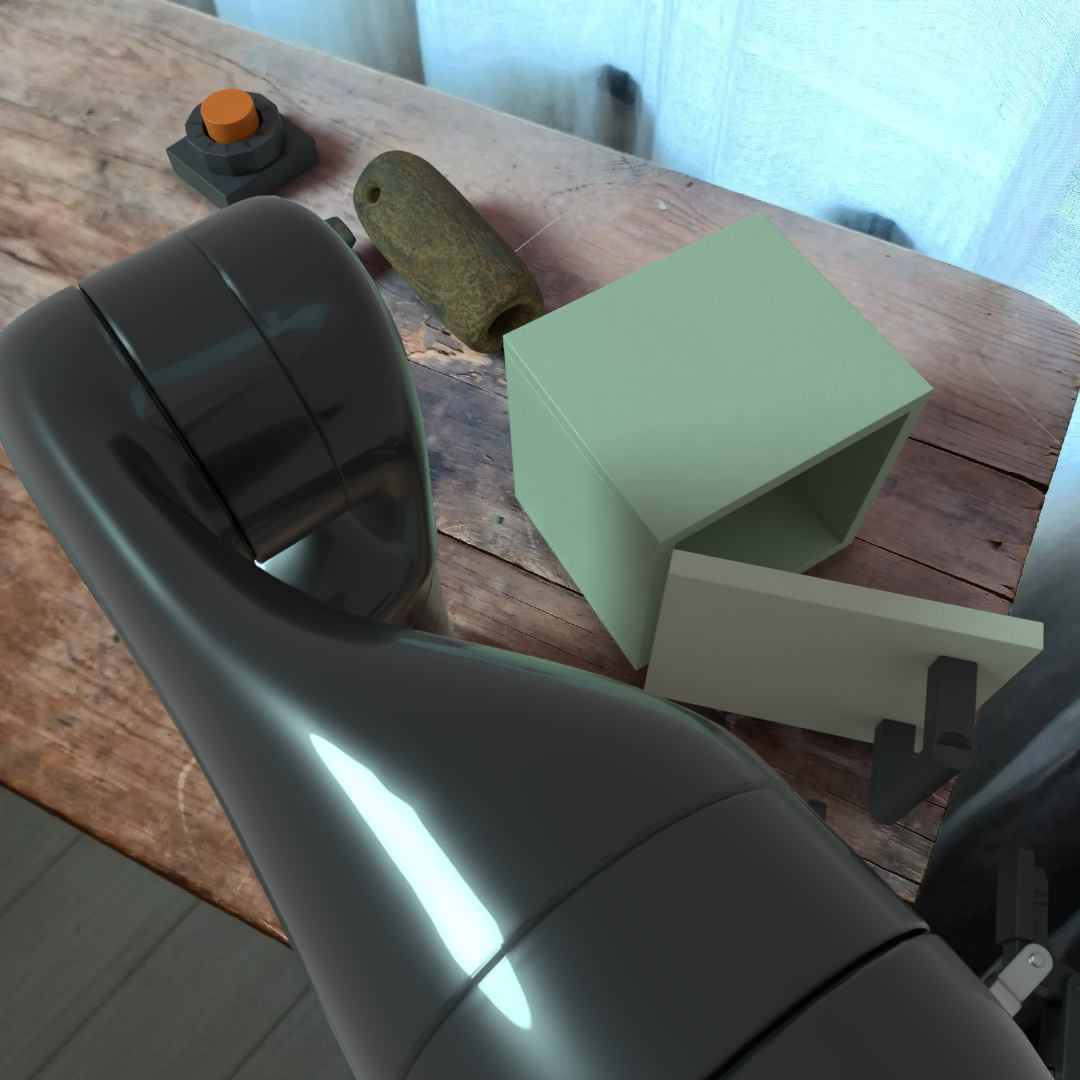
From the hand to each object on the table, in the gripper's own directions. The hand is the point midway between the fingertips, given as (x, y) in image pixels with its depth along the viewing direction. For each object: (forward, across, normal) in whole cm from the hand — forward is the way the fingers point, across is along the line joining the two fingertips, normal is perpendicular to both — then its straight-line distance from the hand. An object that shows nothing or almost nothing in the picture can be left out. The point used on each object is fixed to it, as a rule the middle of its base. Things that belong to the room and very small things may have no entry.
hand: (913, 827), depth 44 cm
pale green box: (+17, +12, +8) cm, 23 cm away
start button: (+39, +48, +4) cm, 62 cm away
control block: (+39, +48, +8) cm, 62 cm away
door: (+4, +5, +8) cm, 10 cm away
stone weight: (+32, +30, +8) cm, 45 cm away
